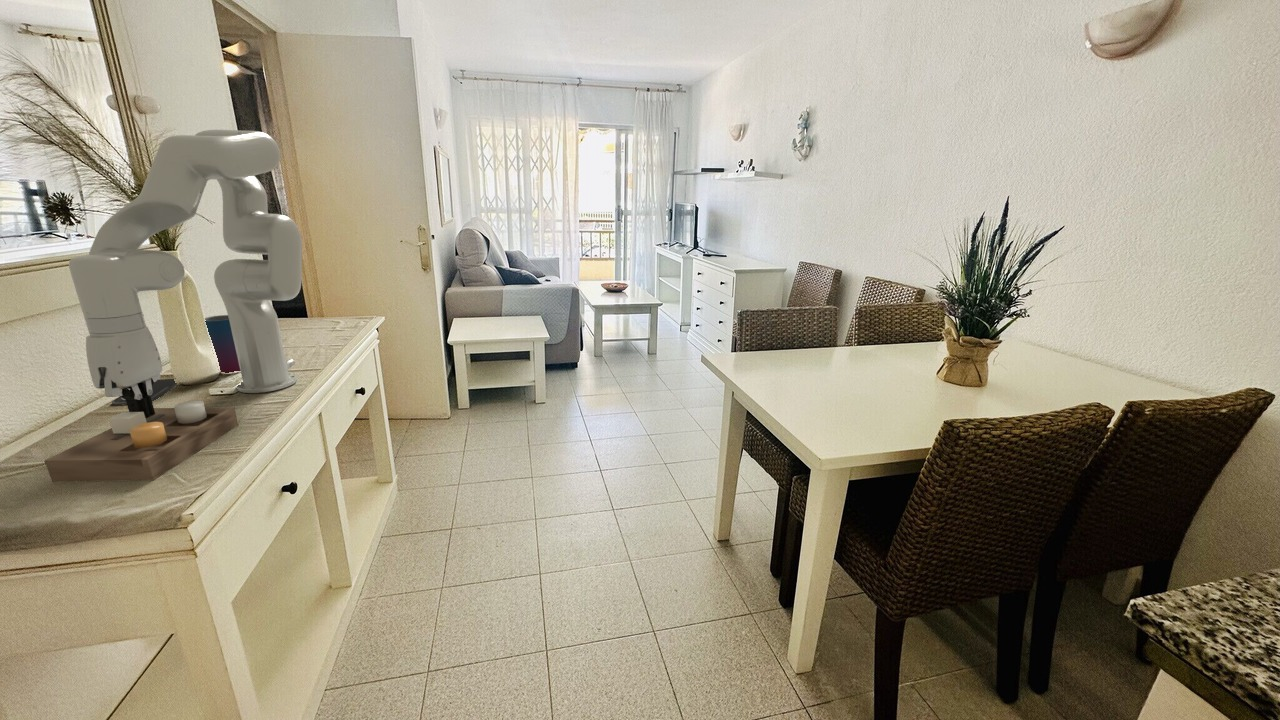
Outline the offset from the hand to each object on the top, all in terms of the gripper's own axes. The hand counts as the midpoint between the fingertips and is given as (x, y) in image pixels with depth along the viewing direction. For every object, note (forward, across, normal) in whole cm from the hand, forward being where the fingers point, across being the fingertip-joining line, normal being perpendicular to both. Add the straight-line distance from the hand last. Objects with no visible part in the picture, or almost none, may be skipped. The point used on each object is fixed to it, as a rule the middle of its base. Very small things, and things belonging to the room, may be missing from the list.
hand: (143, 416), depth 99 cm
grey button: (+1, -2, +7) cm, 8 cm away
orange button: (+1, +8, +8) cm, 11 cm away
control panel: (+6, +3, +4) cm, 7 cm away
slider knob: (+1, +3, 0) cm, 4 cm away
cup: (+6, -42, -12) cm, 43 cm away
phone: (+6, -26, -20) cm, 34 cm away
